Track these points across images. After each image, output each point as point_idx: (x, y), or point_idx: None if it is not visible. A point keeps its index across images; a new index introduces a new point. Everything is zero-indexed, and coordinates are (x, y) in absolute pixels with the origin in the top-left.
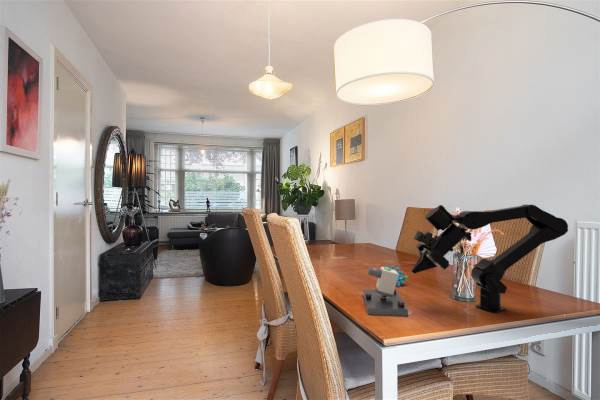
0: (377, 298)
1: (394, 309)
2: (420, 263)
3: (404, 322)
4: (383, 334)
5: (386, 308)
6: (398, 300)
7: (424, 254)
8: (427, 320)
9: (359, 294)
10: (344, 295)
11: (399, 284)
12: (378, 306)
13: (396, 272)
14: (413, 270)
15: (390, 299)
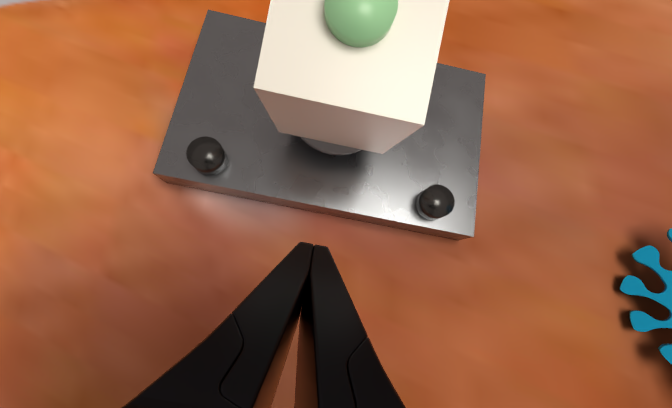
0: None
1: (173, 113)
2: (207, 348)
3: (98, 137)
4: (3, 17)
5: (187, 80)
6: (298, 181)
7: None
8: (97, 250)
9: None
10: (459, 14)
11: (641, 327)
12: (220, 56)
13: (328, 97)
14: (290, 254)
15: None
